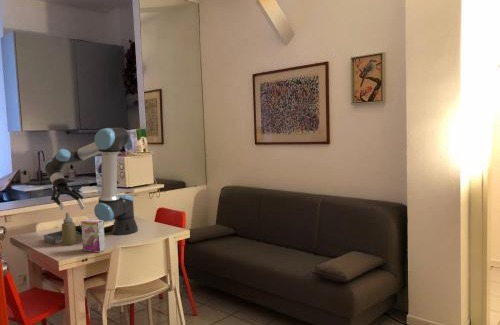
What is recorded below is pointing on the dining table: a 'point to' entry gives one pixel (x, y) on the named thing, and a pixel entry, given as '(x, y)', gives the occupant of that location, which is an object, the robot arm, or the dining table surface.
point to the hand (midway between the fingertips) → (73, 208)
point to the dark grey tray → (53, 237)
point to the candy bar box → (93, 235)
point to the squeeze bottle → (68, 231)
